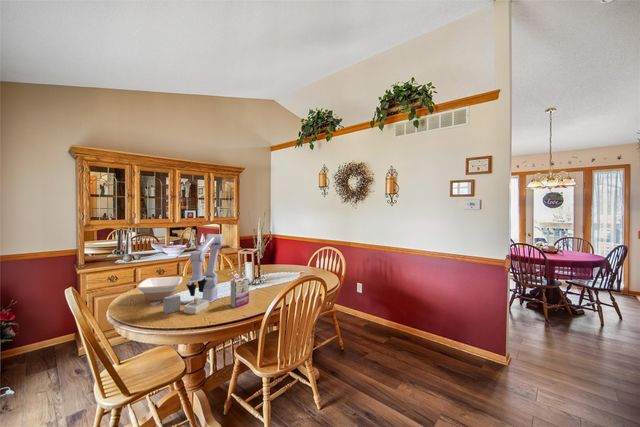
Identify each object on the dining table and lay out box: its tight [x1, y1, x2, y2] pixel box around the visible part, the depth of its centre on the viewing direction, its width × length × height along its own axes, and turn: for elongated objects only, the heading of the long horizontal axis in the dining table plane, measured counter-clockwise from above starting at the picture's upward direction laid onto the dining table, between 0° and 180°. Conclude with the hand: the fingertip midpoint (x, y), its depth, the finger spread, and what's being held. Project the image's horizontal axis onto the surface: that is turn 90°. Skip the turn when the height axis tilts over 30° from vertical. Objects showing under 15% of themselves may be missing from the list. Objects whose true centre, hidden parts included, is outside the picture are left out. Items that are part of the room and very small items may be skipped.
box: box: [183, 299, 210, 315], centre depth 164 cm, size 12×8×4 cm, turn 167°
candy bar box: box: [230, 276, 250, 309], centre depth 174 cm, size 11×5×16 cm, turn 149°
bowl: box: [137, 276, 183, 302], centre depth 183 cm, size 24×25×11 cm
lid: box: [186, 297, 206, 307], centre depth 164 cm, size 10×6×4 cm, turn 168°
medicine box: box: [162, 294, 181, 315], centre depth 160 cm, size 8×4×9 cm, turn 141°
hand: (196, 293), depth 163 cm, fingers open, 7 cm apart
